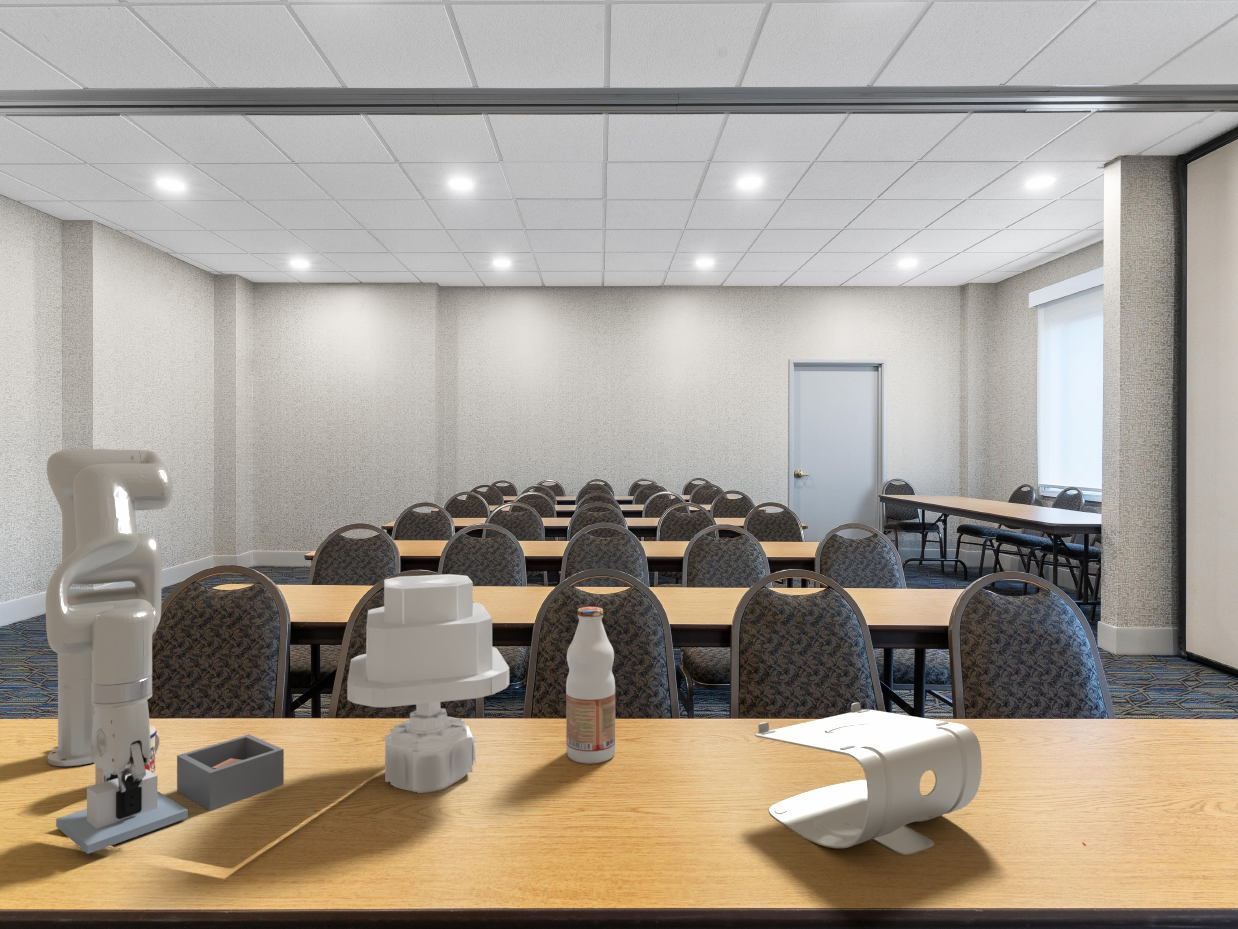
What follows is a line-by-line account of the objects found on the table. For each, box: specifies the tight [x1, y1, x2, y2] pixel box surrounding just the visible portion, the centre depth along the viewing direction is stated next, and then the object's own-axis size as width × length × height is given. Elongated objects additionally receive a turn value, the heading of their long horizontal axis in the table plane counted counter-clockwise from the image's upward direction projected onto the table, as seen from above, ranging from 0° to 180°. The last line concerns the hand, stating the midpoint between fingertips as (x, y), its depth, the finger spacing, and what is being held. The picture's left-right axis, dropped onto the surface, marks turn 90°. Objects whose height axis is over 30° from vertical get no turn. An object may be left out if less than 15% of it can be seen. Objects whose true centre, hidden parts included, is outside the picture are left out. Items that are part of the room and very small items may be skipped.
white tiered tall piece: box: [346, 573, 510, 794], centre depth 129 cm, size 27×27×35 cm
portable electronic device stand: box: [754, 702, 983, 856], centre depth 113 cm, size 26×24×16 cm
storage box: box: [176, 734, 285, 812], centre depth 123 cm, size 12×12×7 cm
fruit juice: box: [565, 606, 616, 764], centre depth 139 cm, size 9×9×28 cm
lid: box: [55, 769, 189, 854], centre depth 110 cm, size 13×13×6 cm
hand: (122, 809), depth 110 cm, fingers closed on lid, 4 cm apart
